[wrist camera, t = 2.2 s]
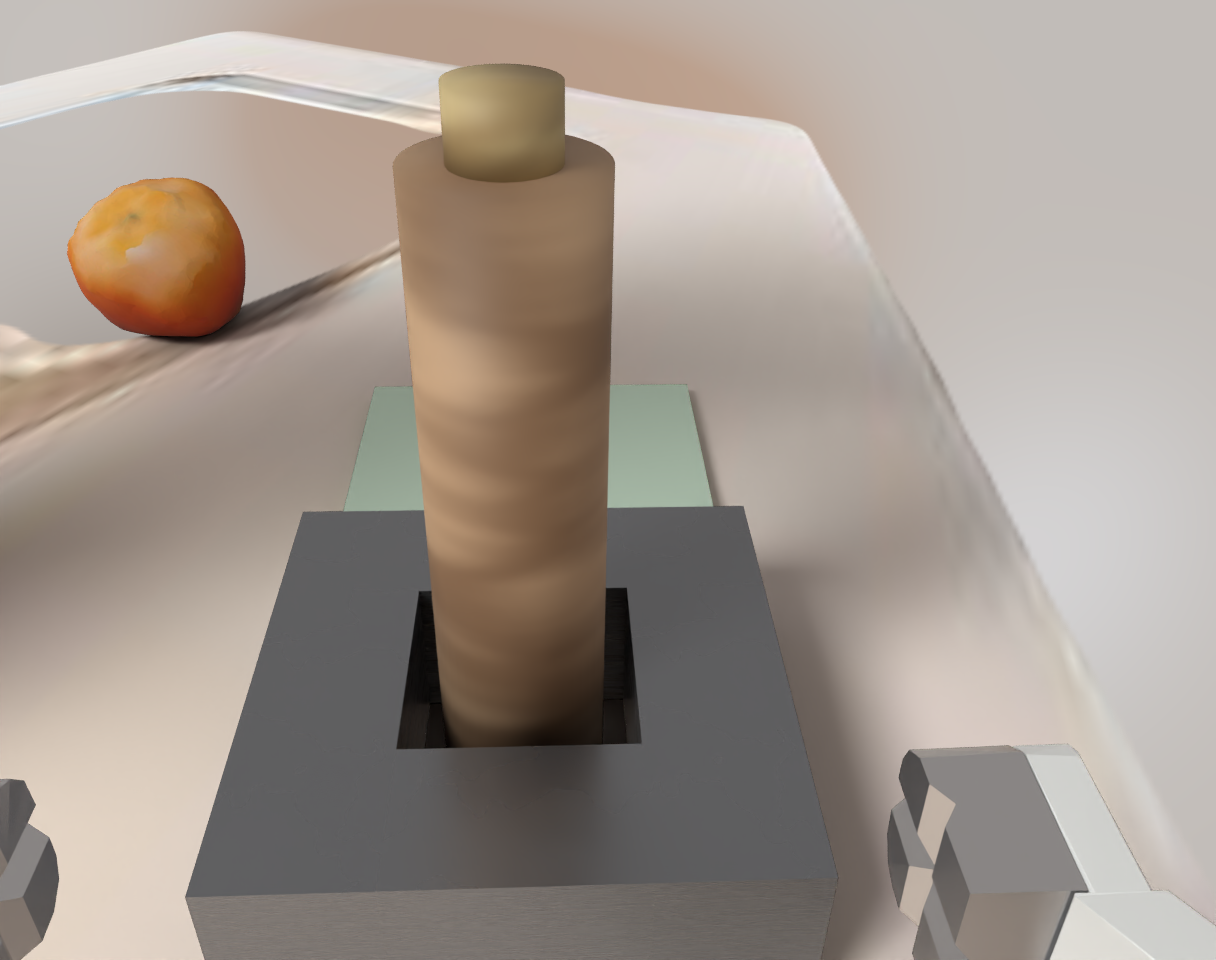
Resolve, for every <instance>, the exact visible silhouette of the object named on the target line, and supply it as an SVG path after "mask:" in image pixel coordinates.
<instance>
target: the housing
mask: <svg viewBox="0 0 1216 960" xmlns="http://www.w3.org/2000/svg"><path fill="white" fill-rule="evenodd" d="M603 699H623V704H624V717H625V729H626V741H627V744H604V745H562V746H520V747H478V748H436V749H425V743H426V735H427V726H428V717H429V709H430V703H442V701H441V690H440V679H439V668H438V657H437V646H436V635H435V624H434V613H433V602H432V591H431V580H430V569H429V559H428V548H427V537H426V526H425V515H424V510H403V511H328V512H303V514H302V517H301V520H300V524H299V527H298V530H297V534H296V537H295V540H294V543H293V547H292V550H291V553H290V556H289V560H288V563H287V566H286V569H285V573H284V576H283V579H282V583H281V586H280V589H279V592H278V596H277V599H276V602H275V605H274V609H273V612H272V615H271V618H270V622H269V625H268V628H267V632H266V635H265V638H264V641H263V645H262V648H261V651H260V654H259V658H258V661H257V664H256V668H255V671H254V674H253V677H252V681H251V684H250V687H249V690H248V694H247V697H246V700H245V703H244V707H243V710H242V713H241V717H240V720H239V723H238V726H237V730H236V733H235V736H234V739H233V743H232V746H231V749H230V752H229V756H228V759H227V762H226V766H225V769H224V772H223V775H222V779H221V782H220V785H219V788H218V792H217V795H216V798H215V802H214V805H213V808H212V811H211V815H210V818H209V821H208V824H207V828H206V831H205V834H204V837H203V841H202V844H201V847H200V851H199V854H198V857H197V860H196V864H195V867H194V870H193V873H192V877H191V880H190V883H189V886H188V890H187V893H186V896H185V898H186V902H187V905H188V908H189V911H190V914H191V918H192V921H193V924H194V927H195V930H196V933H197V937H198V940H199V943H200V946H201V949H202V953H203V956H204V959H205V960H821V957H822V952H823V947H824V942H825V938H826V933H827V928H828V924H829V919H830V914H831V909H832V905H833V900H834V895H835V891H836V886H837V881H838V875H837V871H836V867H835V863H834V859H833V855H832V852H831V848H830V844H829V840H828V836H827V832H826V828H825V824H824V820H823V816H822V812H821V808H820V805H819V801H818V797H817V793H816V789H815V785H814V781H813V777H812V773H811V769H810V765H809V761H808V758H807V754H806V750H805V746H804V742H803V738H802V734H801V730H800V726H799V722H798V718H797V714H796V711H795V707H794V703H793V699H792V695H791V691H790V687H789V683H788V679H787V675H786V671H785V667H784V664H783V660H782V656H781V652H780V648H779V644H778V640H777V636H776V632H775V628H774V624H773V620H772V617H771V613H770V609H769V605H768V601H767V597H766V593H765V589H764V585H763V581H762V577H761V573H760V570H759V566H758V562H757V558H756V554H755V550H754V546H753V542H752V538H751V534H750V530H749V527H748V523H747V519H746V515H745V511H744V507H743V506H704V507H629V508H607V550H606V596H605V642H604V688H603Z"/></svg>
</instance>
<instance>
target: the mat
mask: <svg viewBox="0 0 1216 960" xmlns="http://www.w3.org/2000/svg"><path fill="white" fill-rule="evenodd" d="M704 506H713V502H712V498H711V493H710V489H709V484H708V479H707V475H706V470H705V465H704V461H703V456H702V452H701V447H700V442H699V438H698V433H697V429H696V424H695V419H694V415H693V410H692V406H691V401H690V396H689V392H688V387H687V384H662V385H610V412H609V458H608V504H607V508H629V507H704ZM403 510H424V504H423V493H422V482H421V471H420V460H419V449H418V438H417V427H416V416H415V405H414V394H413V386H408V387H375V388H374V392H373V396H372V400H371V404H370V408H369V412H368V416H367V420H366V424H365V428H364V432H363V435H362V439H361V443H360V447H359V451H358V455H357V459H356V463H355V467H354V471H353V475H352V479H351V482H350V486H349V490H348V494H347V498H346V502H345V506H344V510H343V511H403Z"/></svg>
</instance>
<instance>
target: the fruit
mask: <svg viewBox="0 0 1216 960" xmlns="http://www.w3.org/2000/svg"><path fill="white" fill-rule="evenodd" d="M67 255H68V258H69V261H70V264H71V266H72V270H73V272H74V275H75V278H76V280H77V282H78V285H79V287H80V289H81V291H82V292H83V294H84V295H85V297H86V298H87V299H88V300H89V301H90V302H91V303H92V304H93V305H94V306H95V307H96V308H97V309H98V310H99V311H100V312H101V313H102V314H103V315H104V316H105V317H106V318H107V319H108V320H110V322H112V323H113V324H115V325H116V326H118V327H119V328H121V329H123V330H126V331H130V332H134V333H139V334H145V335H156V336H203V335H207V334H210V333H213V332H215V331H217V330H218V329H220V328H221V327H222V326H223V325H225V324H226V323H228V322H229V321H231V320H232V319H233V318H234V317H235V316H236V315H237V314H238V313H239V311H240V309H241V305H242V302H243V293H244V286H245V253H244V244H243V240H242V237H241V234H240V231H239V228H238V226H237V224H236V223H235V221H234V219H233V217H232V215H231V214H230V212H229V210H228V209H227V207H226V206H225V205H224V203H223V202H222V201H221V199H220V198H219V197H218V195H217V194H216V193H215V192H214V191H213V190H212V189H210V188H209V187H207V186H205V185H203V184H202V183H199V182H196V181H192V180H189V179H186V178H163V179H145V180H140V181H138V182H136V183H132V184H128V185H124V186H121V187H119V188H117V189H115V190H114V191H113V192H112V193H111V194H110V195H109V196H108V197H106V198H104V199H102V200H100V201H98V202H97V203H96V204H94V206H93V207H92V208H91V209H90V210H89V212H88V213H87V214H86V215H85V216H84V217H83V218H82V219H81V220H80V221H79V222H78V225H77V228H76V229H75V232H74V235H73V236H72V237H71V238H70V240H69V242H68V251H67Z"/></svg>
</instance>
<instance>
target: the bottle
mask: <svg viewBox="0 0 1216 960" xmlns="http://www.w3.org/2000/svg"><path fill="white" fill-rule="evenodd" d="M439 95H440V111H441V126H442V136H439V137H435V138H431V139H428V140H425V141H422V142H419V143H417V144H415V145H412V146H410V147H408V148H407V149H405V150H404V151H402V152H401V153H400V154H399V155H398V156H397V157H396V158H395V160H394V162H393V176H394V187H395V197H396V208H397V218H398V230H399V241H400V252H401V263H402V274H403V285H404V296H405V307H406V318H407V329H408V340H409V351H410V362H411V373H412V384H413V394H414V405H415V416H416V427H417V438H418V449H419V460H420V471H421V482H422V493H423V504H424V515H425V526H426V537H427V548H428V559H429V569H430V580H431V591H432V602H433V613H434V624H435V635H436V646H437V657H438V668H439V679H440V690H441V701H442V712H443V723H444V734H445V745H446V748H478V747H520V746H562V745H602V734H603V688H604V642H605V596H606V550H607V504H608V458H609V412H610V366H611V320H612V274H613V228H614V182H615V161H614V159H613V157H612V156H611V154H610V153H609V152H607V151H606V150H605V149H603V148H602V147H600V146H598V145H596V144H594V143H592V142H589V141H586V140H583V139H580V138H577V137H573V136H569V135H565V80H564V77H563V76H562V75H561V74H559V73H557V72H555V71H553V70H550V69H546V68H541V67H536V66H529V65H520V64H484V65H474V66H467V67H462V68H458V69H454V70H451V71H449V72H446V73H444V74H443V75H441V76H440V78H439Z"/></svg>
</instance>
